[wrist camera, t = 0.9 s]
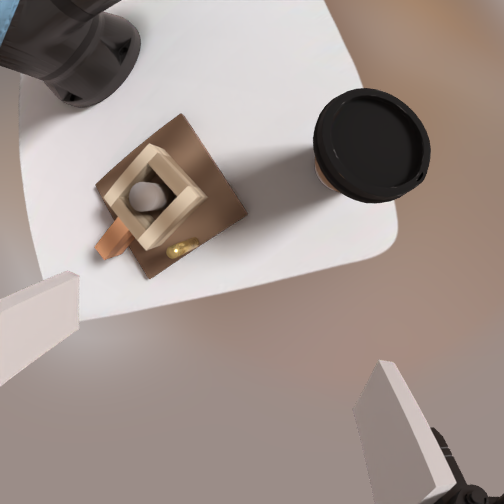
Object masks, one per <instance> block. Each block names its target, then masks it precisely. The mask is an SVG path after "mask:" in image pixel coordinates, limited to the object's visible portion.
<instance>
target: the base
mask: <svg viewBox="0 0 504 504" xmlns="http://www.w3.org/2000/svg"><path fill="white" fill-rule="evenodd" d="M148 144H152V145H155V146H157V147H160V148H162V149H164V150H165V151H166V152H167V153H168V154H169V155H170V156H171V157H172V158H173V160H174V161H175V162H176V163H177V164H178V165H179V166H180V167H181V168H182V169H183V170H184V172H185V173H186V174H187V175H188V176H189V177H190V178H191V179H192V180H193V181H194V182H195V184H196V185H197V186H198V187H199V188H200V189H201V190H202V191H203V192H204V193H205V194H206V196H207V197H208V198H207V199H206V200H205V201H204V202H203V203H202V204H201V205H200V206H199V207H198V208H197V209H196V210H195V211H194V212H193V213H192V214H191V215H190V216H189V217H188V218H187V219H186V220H185V221H184V222H183V223H182V224H181V225H180V226H179V227H178V228H177V229H176V230H175V231H174V232H173V233H172V234H171V235H170V236H169V237H168V238H167V240H166V241H165V242H164V243H163V244H162V245H160V246H158V247H155V248H152V249H149V250H147V251H146V250H145V249H144V248H143V246H142V245H141V244H140V243H139V242H138V240H137V239H136V238H135V239H134V240H133V241H132V242H131V244H130V245H129V247H130V249H131V251H132V252H133V254H134V256H135V257H136V259H137V261H138V262H139V264H140V265H141V267H142V269H143V270H144V272H145V274H146V275H147V277H148V278H149V279H151V278H153V277H154V276H156V275H157V274H159V273H160V272H162V271H163V270H165V269H166V268H168V267H169V266H171V265H172V264H173V263H175V262H176V261H178V260H179V259H181V258H182V257H184V256H185V255H187V254H188V253H190V252H191V251H193V250H194V249H196V248H197V247H196V248H194V249H192V250H190V251H188V252H186V253H184V254H182V255H181V256H179V257H177V258H175V259H171V258H169V257H168V256H167V253H166V251H167V248H168V247H170V246H172V245H175V244H177V243H180V242H182V241H185V240H188V239H190V238H193V237H196V238H197V239H198V240H199V246H200V245H202V244H203V243H205V242H206V241H208V240H209V239H211V238H212V237H214V236H216V235H217V234H219V233H220V232H222V231H223V230H225V229H226V228H228V227H229V226H231V225H232V224H234V223H236V222H237V221H239V220H240V219H242V218H243V217H245V216H246V215H248V213H247V212H246V210H245V208H244V207H243V205H242V204H241V202H240V201H239V199H238V198H237V196H236V194H235V193H234V191H233V190H232V188H231V187H230V185H229V184H228V182H227V180H226V179H225V177H224V176H223V174H222V173H221V171H220V170H219V168H218V167H217V165H216V163H215V162H214V160H213V159H212V157H211V156H210V154H209V153H208V151H207V150H206V148H205V147H204V145H203V144H202V142H201V141H200V139H199V137H198V136H197V134H196V133H195V131H194V130H193V128H192V127H191V125H190V124H189V122H188V121H187V119H186V118H185V116H184V115H182V114H179V115H178V116H177V117H175V118H174V119H172V120H171V121H170V122H168V123H167V124H166V125H164V126H163V127H162V128H161V129H159V130H158V131H157V132H155V133H154V134H153V135H152V136H150V137H149V138H148V139H147V140H145V141H144V142H143V143H142V144H140V145H139V146H138V147H137V148H136V149H134V150H133V151H132V152H131V153H130V154H129V155H127V156H126V157H125V158H124V159H123V160H122V161H121V162H119V163H118V164H117V165H116V166H115V167H114V168H113V169H112V170H110V171H109V172H108V173H107V174H106V175H105V176H104V177H103V178H102V179H101V180H100V181H99V182H98V183H97V184H96V187H97V189H98V191H99V193H100V195H101V197H102V199H103V201H104V203H105V204H106V206H107V208H108V210H109V212H110V214H111V216H112V217H113V219H114V221H115V220H116V219H117V217H118V216H117V215H116V213H115V212H114V211H113V210H112V208H111V207H110V206H109V204H108V203H107V202H106V200H105V199H104V198H103V197H104V196H105V195H106V193H107V192H108V191H109V190H110V188H111V187H112V186H113V185H114V183H115V182H116V181H117V180H118V179H119V177H120V176H121V175H122V174H123V172H124V171H125V170H126V169H127V168H128V167H129V165H130V164H131V163H132V162H133V161H134V160H135V158H136V157H137V156H138V155H139V154H140V153H141V152H142V151H143V149H144V148H145V147H146V146H147V145H148ZM176 198H177V196H176V195H175V193H174V192H173V191H172V190H171V189H170V188H169V187H168V185H167V184H166V183H165V182H164V181H163V180H162V179H161V178H160V176H159V175H158V174H156V175H155V176H154V177H153V178H152V179H151V180H150V181H149V182H139V183H136V184H135V185H134V186H133V187H132V188H131V190H130V193H129V202H130V204H131V206H132V207H133V208H134V209H135V210H137V211H140V212H143V211H148V213H149V214H150V215H151V216H152V217H153V218H154V220H156V219H157V218H158V217H159V216H160V215H161V213H162V212H163V211H164V210H165V209H166V208H167V207H168V206H169V205H170V204H171V203H172V202H173V201H174V200H175V199H176ZM199 246H198V247H199Z"/></svg>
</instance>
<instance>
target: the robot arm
mask: <svg viewBox="0 0 504 504" xmlns="http://www.w3.org/2000/svg"><path fill="white" fill-rule="evenodd" d="M119 1H121V0H0V66H2V67H6V68H9V69H12V70H15V71H18V72H21V73H23V74H26V75H29V76H32V77H35V78H38V79H40V80H42V81H44V82H45V84H46V85H47V86H48V87H49V88H50V89H51V90H52V92H53V93H54V94H55V95H56V96H57V97H58V98H59V99H60V100H61V101H63V102H65V103H67V104H70V105H72V106H75V107H87V106H91V105H94V104H96V103H98V102H100V101H102V100H104V99H105V98H107V97H108V96H109V95H111V94H112V93H113V92H114V91H115V90H116V89H117V88H118V87H119V86H120V85H121V84H122V83H123V82H124V81H125V79H126V78H127V77H128V75H129V74H130V72H131V71H132V69H133V67H134V65H135V63H136V61H137V58H138V55H139V51H140V45H141V41H140V35H139V33H138V31H137V29H136V28H135V27H134V26H133V25H132V24H131V23H130V22H129V21H128V20H126V19H125V18H123V17H120V16H117V15H113V14H110V13H107V12H103V11H105V10H106V9H108V8H109V7H111V6H113V5H114V4H116V3H118V2H119ZM78 329H79V275H77V274H75V273H72V272H70V271H65V272H63V273H60V274H58V275H55V276H53V277H51V278H48V279H46V280H43V281H41V282H39V283H36V284H34V285H32V286H29V287H27V288H25V289H22V290H20V291H18V292H15V293H13V294H11V295H8V296H6V297H4V298H2V299H0V386H1V385H3V384H4V383H5V382H7V381H8V380H9V379H10V378H12V377H13V376H15V375H16V374H17V373H19V372H20V371H21V370H23V369H24V368H25V367H27V366H28V365H29V364H31V363H32V362H33V361H35V360H36V359H37V358H39V357H40V356H42V355H43V354H44V353H46V352H47V351H49V350H50V349H51V348H53V347H54V346H55V345H57V344H58V343H60V342H61V341H62V340H64V339H65V338H67V337H68V336H69V335H71V334H72V333H74V332H75V331H77V330H78ZM353 412H354V417H355V420H356V424H357V428H358V432H359V436H360V440H361V444H362V448H363V452H364V457H365V461H366V465H367V470H368V474H369V479H370V483H371V488H372V493H373V497H374V502H375V504H504V494H503V495H502V496H501V497H488V496H487V493H486V492H485V491H484V490H483V489H482V488H480V487H479V486H476V485H467V484H466V481H465V480H464V477H463V475H462V473H461V471H460V469H459V467H458V465H457V463H456V461H455V459H454V457H453V456H452V453H451V451H450V449H449V448H448V445H447V444H446V442H445V440H444V438H443V436H442V435H441V434H440V433H439V432H438V431H437V430H436V429H435V428H430V427H429V425H428V423H427V421H426V419H425V417H424V416H423V414H422V412H421V410H420V408H419V406H418V404H417V402H416V401H415V399H414V397H413V395H412V393H411V392H410V390H409V388H408V386H407V384H406V383H405V381H404V379H403V377H402V376H401V374H400V372H399V370H398V369H397V367H396V365H395V363H394V362H389V361H383V360H378V362H377V364H376V366H375V368H374V370H373V372H372V374H371V376H370V378H369V380H368V382H367V384H366V386H365V388H364V390H363V391H362V393H361V395H360V397H359V399H358V401H357V402H356V404H355V406H354V408H353Z"/></svg>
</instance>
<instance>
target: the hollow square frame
mask: <svg viewBox="0 0 504 504" xmlns="http://www.w3.org/2000/svg"><path fill="white" fill-rule="evenodd" d="M156 174H158V175H159V176H160V178H161V179H162V180H163V181H164V182H165V183H166V184H167V185H168V187H169V188H170V189H171V190H172V191H173V192H174V193H175V195H176V196H177V198H176V199H175V200H174V201H173V202H172V203H171V204H170V205H169V206H168V207H167V208H166V209H165V210H164V211H163V212H162V213H161V215H160V216H159V217H158V218H157V219H156V220H154V218H153V217H152V216H151V215H150V214H149V213H148V211H143V212H140V211H137V210H135V209H134V208H133V207H132V206H131V204H130V202H129V193H130V190H131V188H132V187H133V186H134V185H135V184H136V183H139V182H149V181H150V180H151V179H152V178H153V177H154V176H155V175H156ZM103 198H104V199H105V200H106V202H107V203H108V204H109V206H110V207H111V208H112V210H113V211H114V212H115V213H116V215H117V216H118V217H117V219H116V220H115V221H114V222H113V224H112V225H111V226H110V227H109V229H108V230H107V231H106V233H105V234H104V235H103V236H102V238H101V239H100V240H99V242H98V243H97V244H96V246H95V249H96V250H97V251H98V253H99V254H100V255H101V256H102V258H103V259H104V260H106V259H109V258H112V257H114V256H117V255H120V254H122V253H123V252H124V251H125V249H126V248H127V247H128V246H129V245H130V244H131V242H132V241H133V240H134V239H135V238H136V239H137V240H138V242H139V243H140V244H141V245H142V246H143V248H144V249H145V250H146V251H147V250H149V249H152V248H155V247H158V246H160V245H162V244H163V243H164V242H165V241H166V240H167V238H168V237H169V236H170V235H171V234H172V233H173V232H174V231H175V230H176V229H177V228H178V227H179V226H180V225H181V224H182V223H183V222H184V221H185V220H186V219H187V218H188V217H189V216H190V215H191V214H192V213H193V212H194V211H195V210H196V209H197V208H198V207H199V206H200V205H201V204H202V203H203V202H204V201H205V200H206V199H207V198H208V197H207V196H206V194H205V193H204V192H203V191H202V190H201V189H200V188H199V187H198V186H197V185H196V184H195V182H194V181H193V180H192V179H191V178H190V177H189V176H188V175H187V174H186V173H185V172H184V170H183V169H182V168H181V167H180V166H179V165H178V164H177V163H176V162H175V161H174V160H173V158H172V157H171V156H170V155H169V154H168V153H167V152H166V151H165V150H164V149H162V148H160V147H157V146H155V145H152V144H148V145H147V146H146V147H145V148H144V149H143V151H142V152H141V153H140V154H139V155H138V156H137V157H136V158H135V160H134V161H133V162H132V163H131V164H130V165H129V167H128V168H127V169H126V170H125V171H124V172H123V174H122V175H121V176H120V177H119V179H118V180H117V181H116V182H115V183H114V185H113V186H112V187H111V188H110V190H109V191H108V192H107V193H106V195H105V196H104V197H103Z"/></svg>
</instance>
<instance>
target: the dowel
mask: <svg viewBox="0 0 504 504" xmlns="http://www.w3.org/2000/svg"><path fill="white" fill-rule="evenodd" d="M198 246H199V240H198V239H197V238H196V237H193V238H190V239H188V240H185V241H182V242H180V243H177V244H175V245H172V246H170V247H168V248H167V251H166V253H167V256H168V257H169V258H171V259H175V258H177V257H179V256H181V255H182V254H184V253H186V252H188V251H190V250H192V249H194V248H196V247H198Z"/></svg>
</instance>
